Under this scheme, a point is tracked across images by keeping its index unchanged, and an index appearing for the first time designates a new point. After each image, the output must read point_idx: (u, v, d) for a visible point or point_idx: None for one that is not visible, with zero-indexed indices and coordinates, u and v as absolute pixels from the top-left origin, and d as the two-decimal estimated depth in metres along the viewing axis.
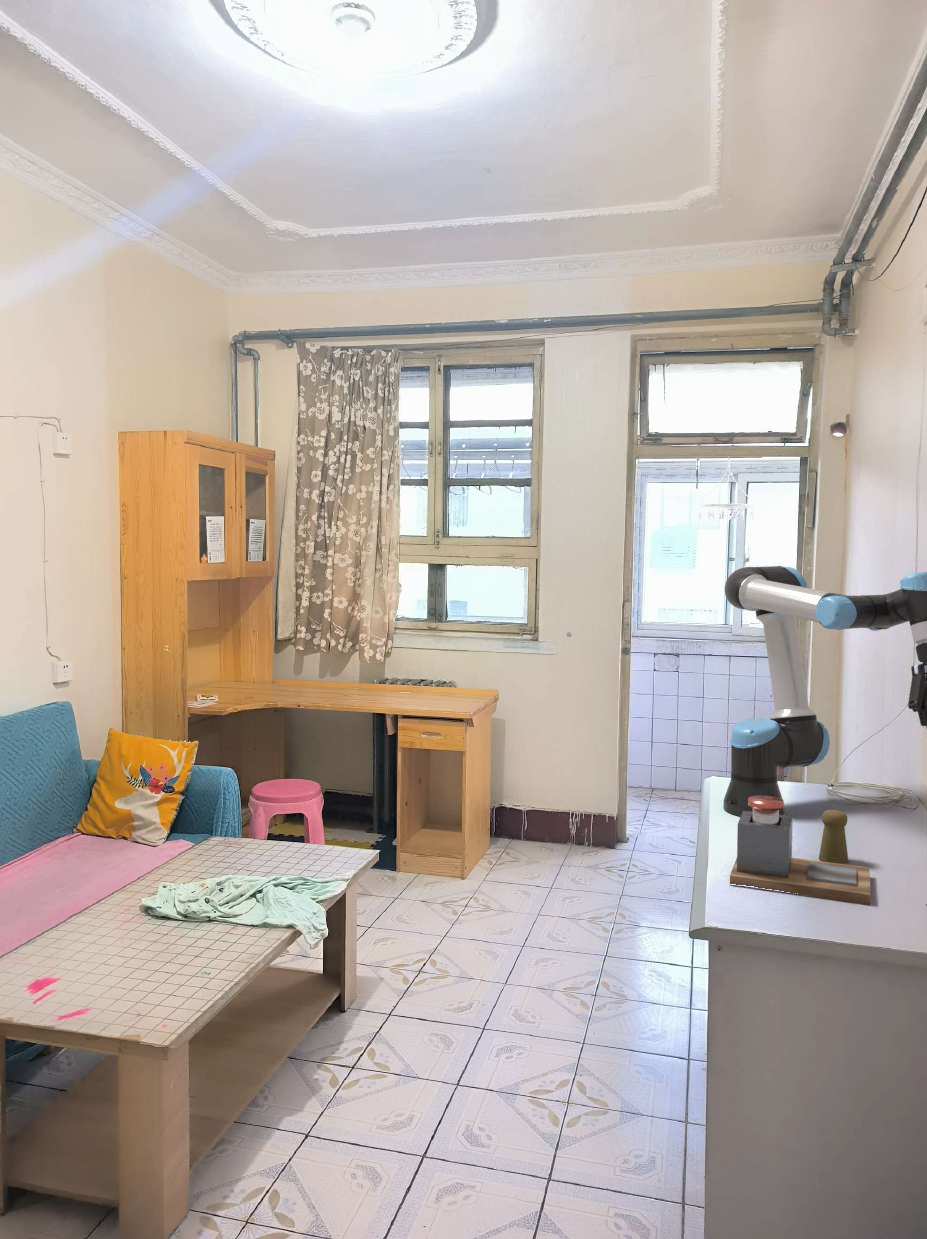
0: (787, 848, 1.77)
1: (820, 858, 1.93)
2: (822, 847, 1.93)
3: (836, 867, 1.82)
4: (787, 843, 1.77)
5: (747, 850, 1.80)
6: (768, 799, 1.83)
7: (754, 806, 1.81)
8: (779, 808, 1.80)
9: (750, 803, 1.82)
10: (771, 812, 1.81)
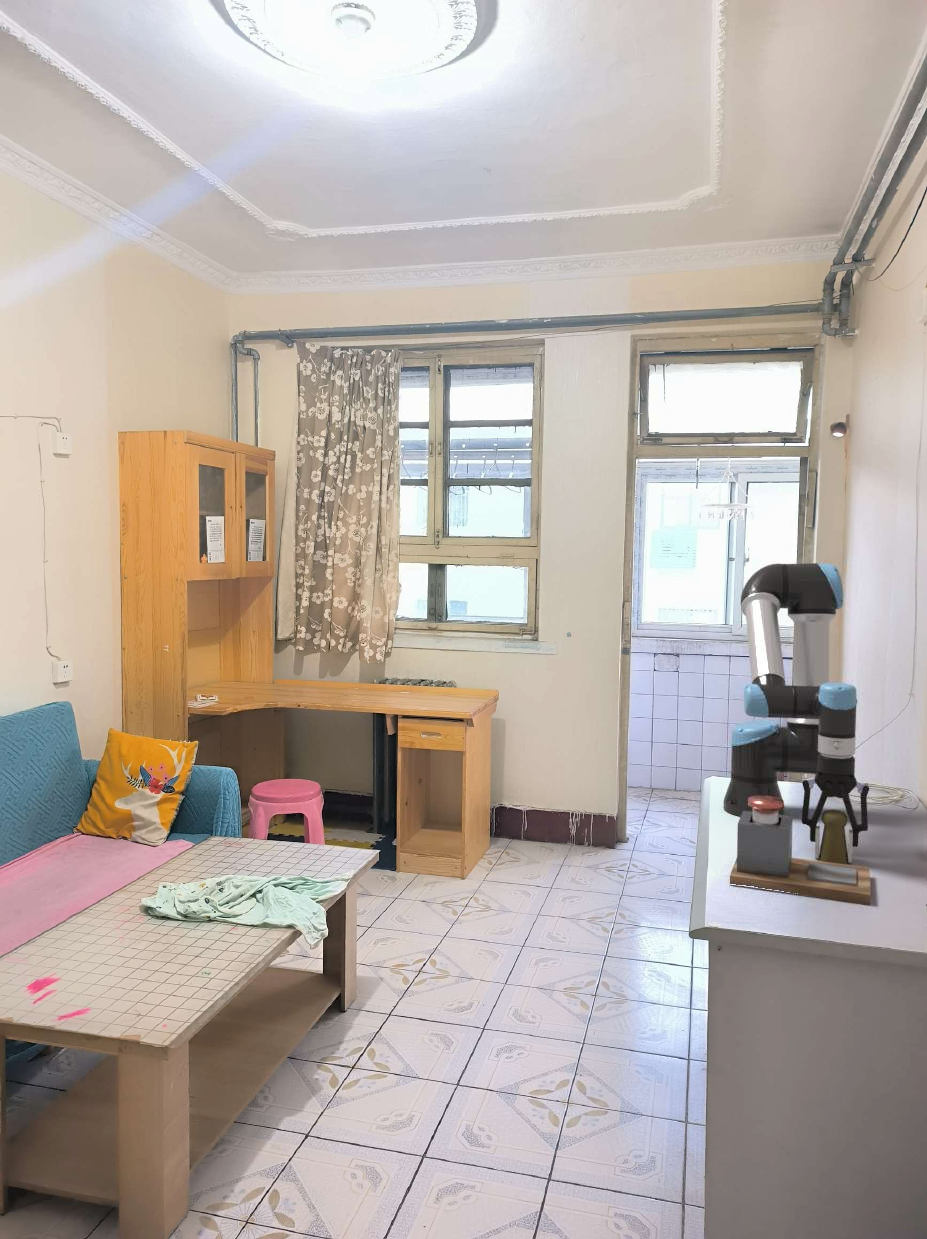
0: (787, 848, 1.77)
1: (820, 858, 1.93)
2: (822, 847, 1.93)
3: (836, 867, 1.82)
4: (787, 843, 1.77)
5: (747, 850, 1.80)
6: (768, 799, 1.83)
7: (754, 806, 1.81)
8: (779, 808, 1.80)
9: (750, 803, 1.82)
10: (771, 812, 1.81)
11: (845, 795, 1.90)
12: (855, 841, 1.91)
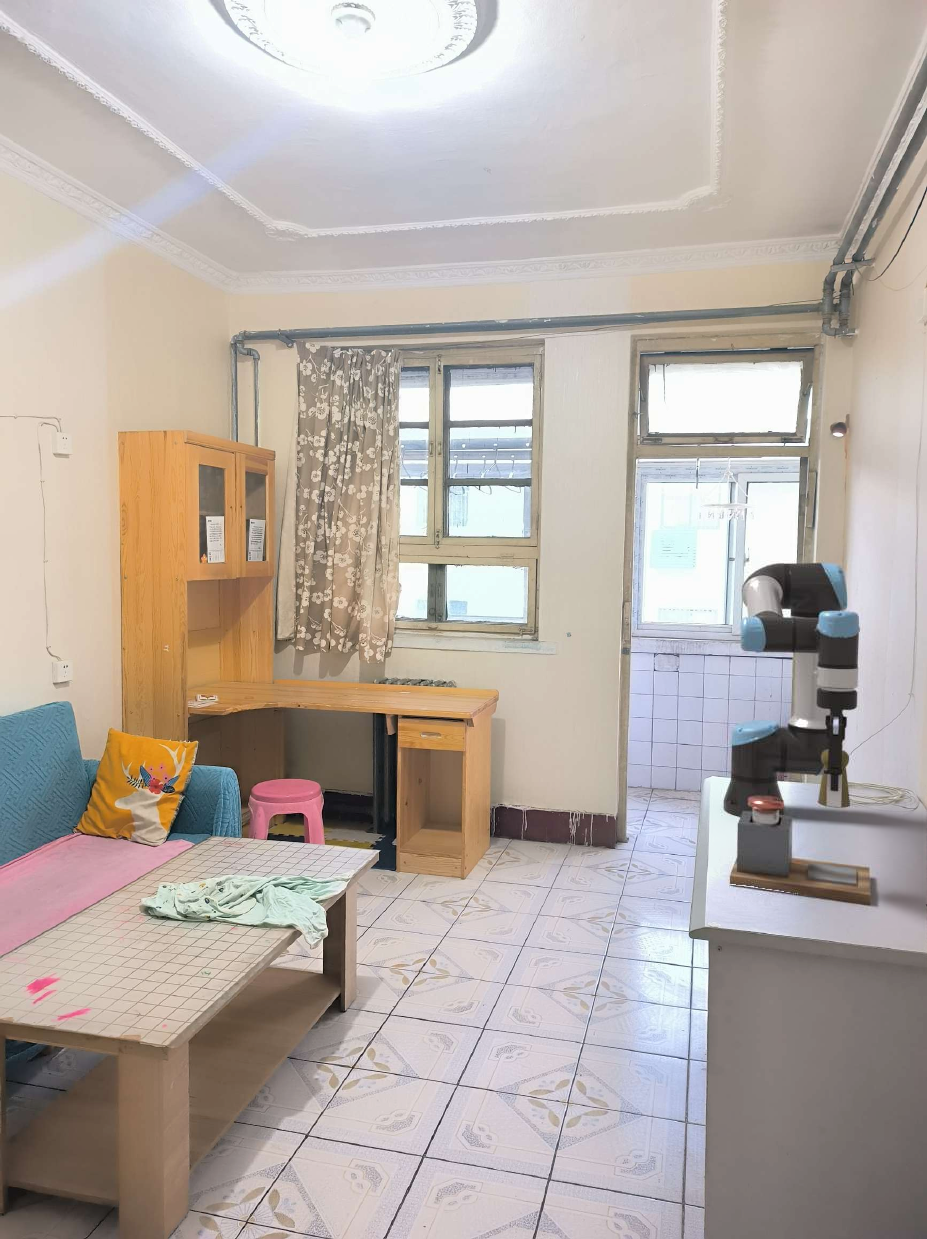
0: (787, 848, 1.77)
1: None
2: None
3: (836, 867, 1.82)
4: (787, 843, 1.77)
5: (747, 850, 1.80)
6: (768, 799, 1.83)
7: (754, 806, 1.81)
8: (779, 808, 1.80)
9: (750, 803, 1.82)
10: (771, 812, 1.81)
11: (826, 730, 1.76)
12: (830, 783, 1.74)
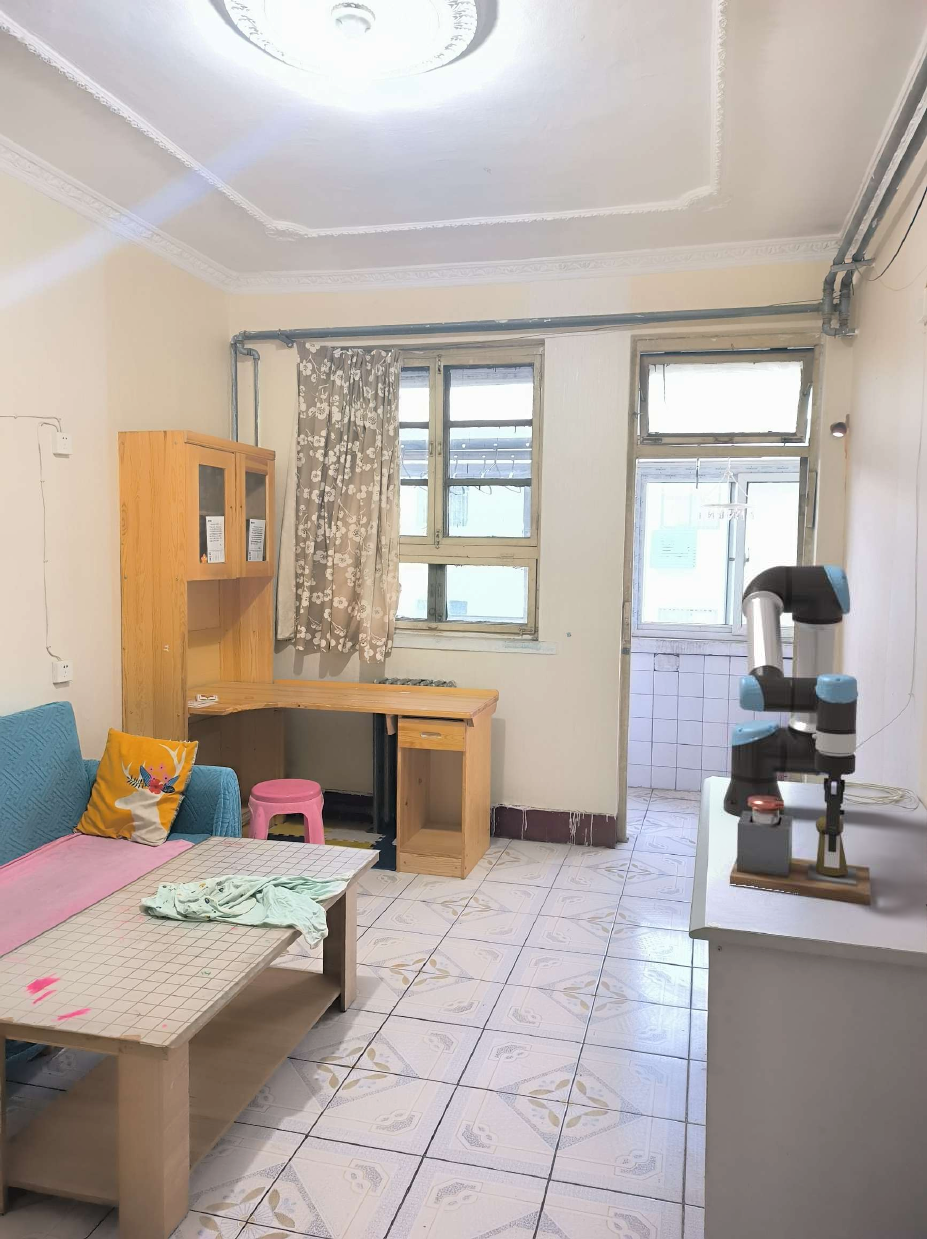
0: (787, 848, 1.77)
1: None
2: None
3: None
4: (787, 843, 1.77)
5: (747, 850, 1.80)
6: (768, 799, 1.83)
7: (754, 806, 1.81)
8: (779, 808, 1.80)
9: (750, 803, 1.82)
10: (771, 812, 1.81)
11: None
12: (828, 844, 1.72)
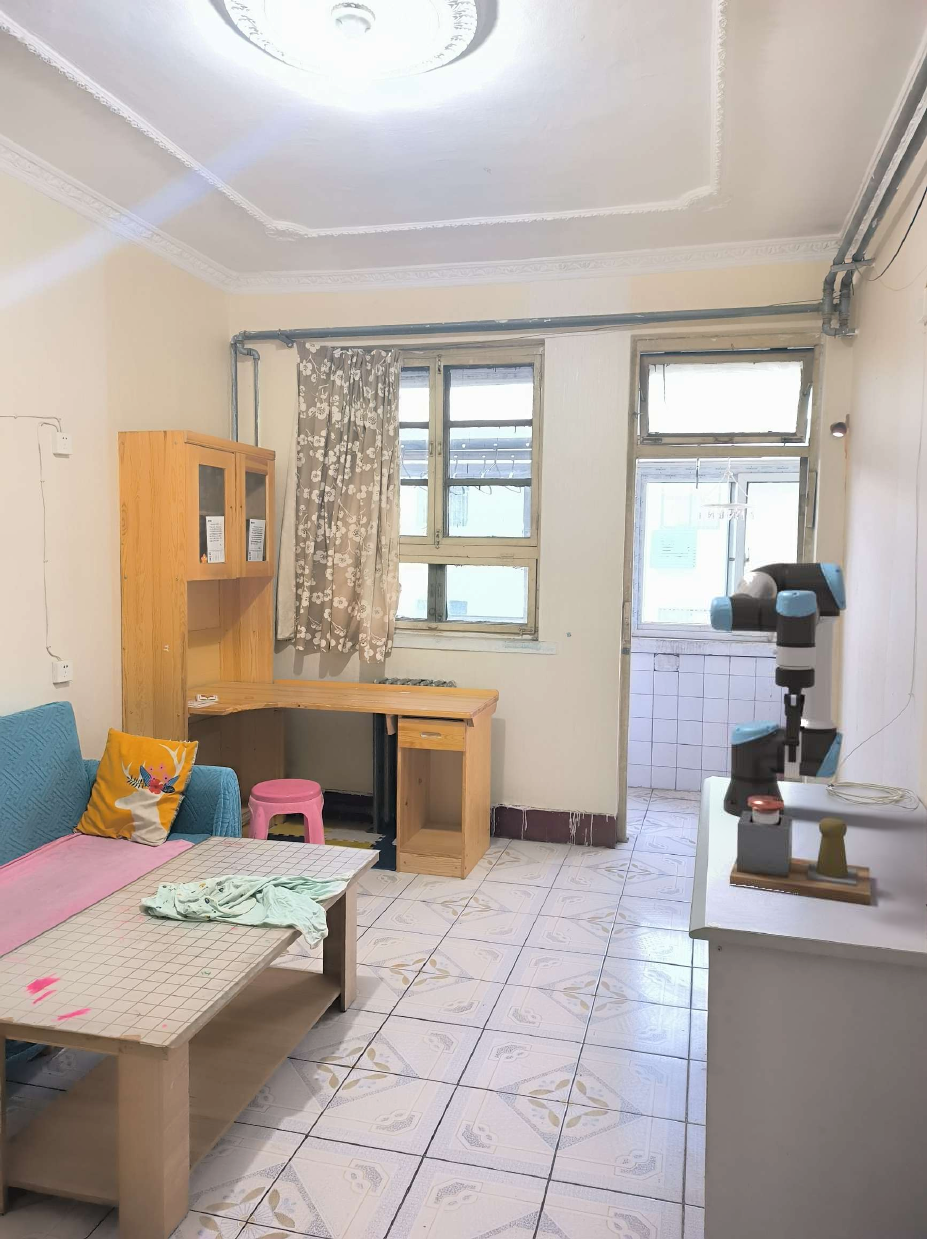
0: (787, 848, 1.77)
1: None
2: None
3: None
4: (787, 843, 1.77)
5: (747, 850, 1.80)
6: (768, 799, 1.83)
7: (754, 806, 1.81)
8: (779, 808, 1.80)
9: (750, 803, 1.82)
10: (771, 812, 1.81)
11: None
12: (788, 755, 1.73)
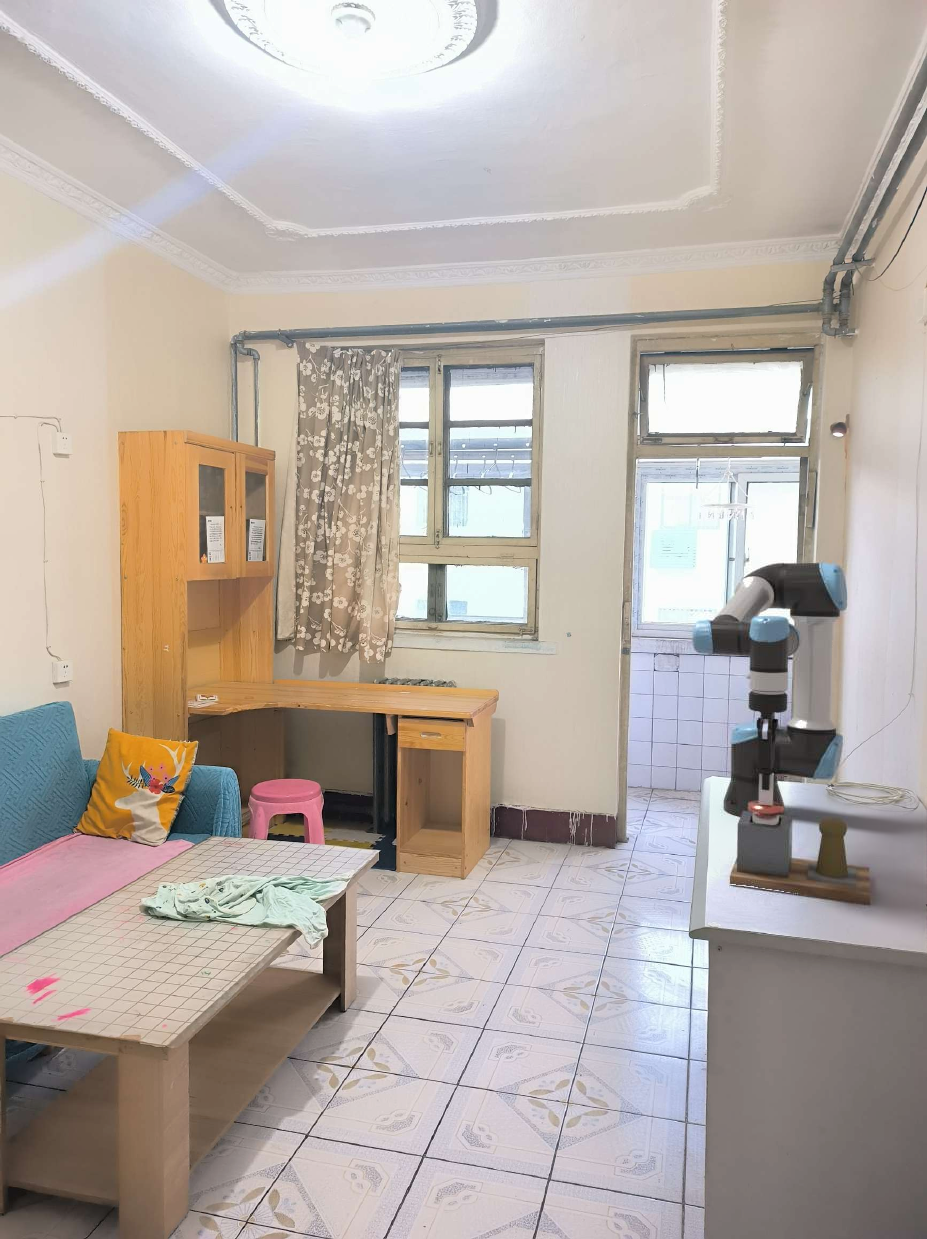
0: (787, 848, 1.77)
1: None
2: None
3: None
4: (787, 843, 1.77)
5: (747, 850, 1.80)
6: None
7: (754, 811, 1.81)
8: (779, 813, 1.80)
9: (750, 808, 1.82)
10: (771, 817, 1.81)
11: None
12: (762, 783, 1.82)
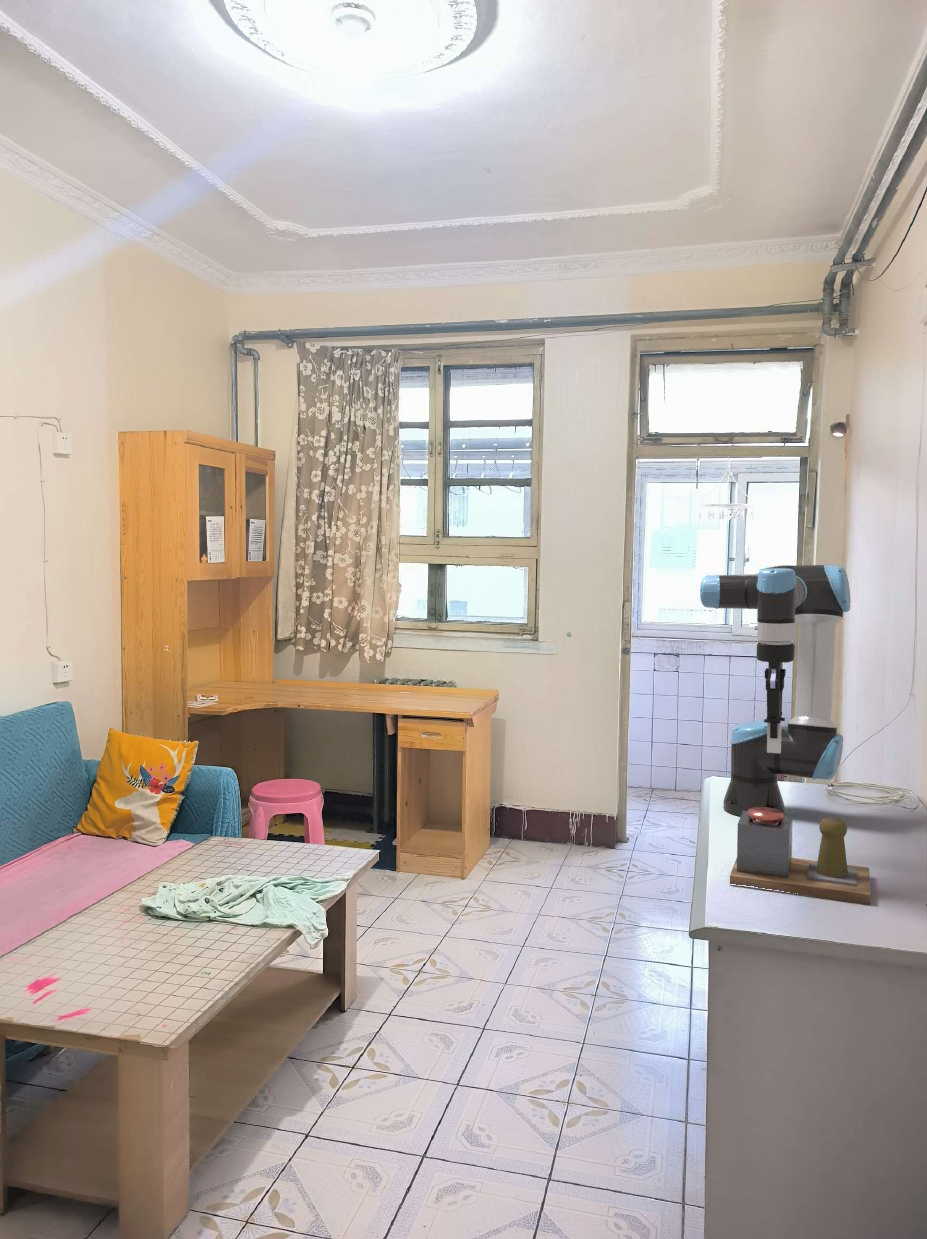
0: (787, 848, 1.77)
1: None
2: None
3: None
4: (787, 843, 1.77)
5: (747, 850, 1.80)
6: (768, 811, 1.84)
7: (754, 818, 1.81)
8: (779, 820, 1.80)
9: (750, 815, 1.83)
10: (771, 824, 1.81)
11: None
12: (770, 731, 1.86)
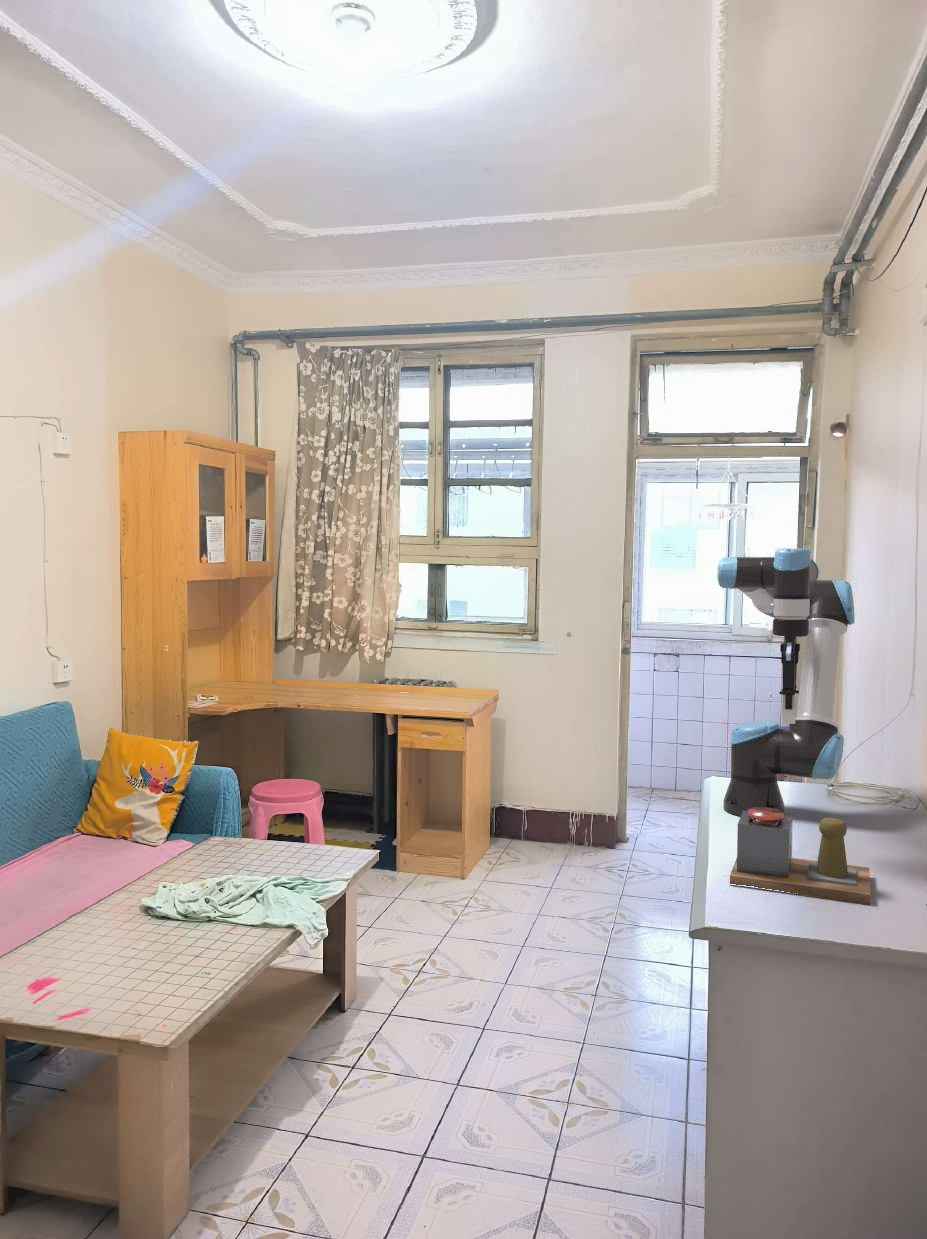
0: (787, 848, 1.77)
1: None
2: None
3: None
4: (787, 843, 1.77)
5: (747, 850, 1.80)
6: (768, 811, 1.84)
7: (754, 818, 1.81)
8: (779, 820, 1.80)
9: (750, 815, 1.83)
10: (771, 824, 1.81)
11: (781, 656, 1.95)
12: (785, 703, 1.96)
